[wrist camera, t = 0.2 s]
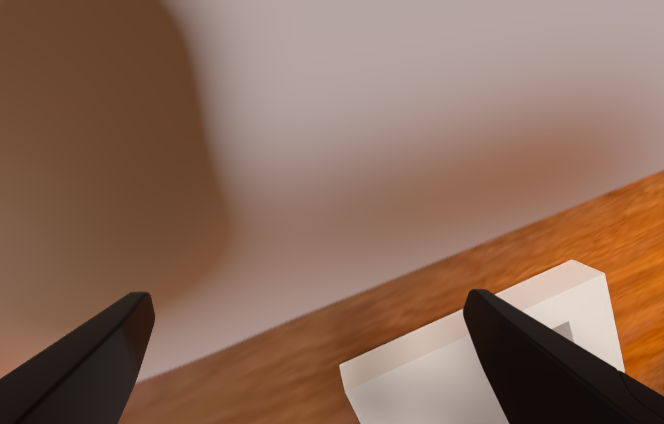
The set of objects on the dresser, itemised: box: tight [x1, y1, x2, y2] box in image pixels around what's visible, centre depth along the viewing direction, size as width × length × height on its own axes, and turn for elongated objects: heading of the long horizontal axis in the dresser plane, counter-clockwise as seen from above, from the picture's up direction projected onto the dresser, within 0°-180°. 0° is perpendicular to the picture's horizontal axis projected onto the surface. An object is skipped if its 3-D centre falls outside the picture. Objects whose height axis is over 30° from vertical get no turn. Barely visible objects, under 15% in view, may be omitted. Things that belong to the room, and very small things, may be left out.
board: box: [339, 260, 625, 424], centre depth 27 cm, size 22×10×3 cm, turn 112°
